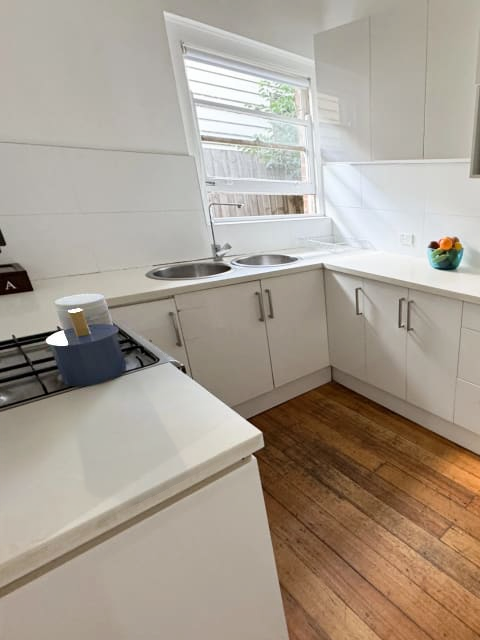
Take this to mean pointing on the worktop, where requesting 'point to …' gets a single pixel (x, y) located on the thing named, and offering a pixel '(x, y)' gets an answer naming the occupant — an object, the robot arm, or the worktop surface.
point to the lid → (81, 332)
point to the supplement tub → (91, 307)
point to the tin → (90, 362)
